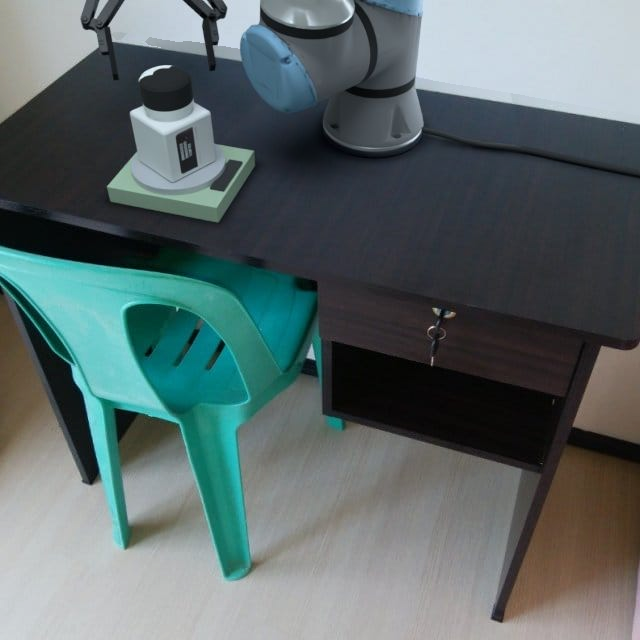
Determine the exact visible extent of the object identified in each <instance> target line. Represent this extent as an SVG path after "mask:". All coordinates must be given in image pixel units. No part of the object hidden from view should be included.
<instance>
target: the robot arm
mask: <svg viewBox="0 0 640 640" xmlns="http://www.w3.org/2000/svg"><path fill="white" fill-rule="evenodd" d="M100 1H101V0H85V2H84V5H83V8H82V11H81V16H80V23H81V27H82V29H83V30H85V31H93V32H94V33H95V34H96V39H97V43H98V50H99V53H100V55H101V56H108V57H109V63H110V68H111V75H112V79H113V80H112V81H119V80H120V77H119V71H118V65H117V60H116V55H115V49H114V43H113V36H112V31H111V26H109V25H111V22H112V21H113V19H114V18H115V17H116V14H117V13H118V11H119V10H120V9H121V7H122V6H123V4H124V2H125V1H126V0H107V2H106V3H105V4H104V7H103V8H102V9H101V11H100V12H99V14H98V16H97V17H96V18H95V16H96V13H97V10H98V7H99V4H100ZM182 2H183V3H185V4H186V5H187V6H188V7H189V8H190V9H191V10H193V12H195V14H197V15H198V16H199V17H200V18H201V19H202V24H201V28H202V35H203V40H204V41H203V42H204V47H205V52H206V53H205V54H206V59H207V64H208V70H209V72H214V71H215V70H216V66H217V61H216V55H215V49H214V47H215V46H218V45H219V41H220V35H219V29H218V21H219V20H223V19H225V18H226V16H227V13H228V6H227V4H226V3H225V1H224V0H206V1H204V0H182ZM206 2H207V3H206ZM423 17H424V11H423V0H259V22H258V24H251V25H250V26H249V27H248V28H247V29H246V30H245V31H244V32H243V33H242V34H241V37H240V41H239V53H240V58H241V62H242V66H243V69H244V72H245V74H246V76H247V78H248V80H249V82H250V83H251V85H252V87H253V89H254V90H255V92H256V93H257V94H258V96H259V97H260V98H261V99H262V100H263V102H265V103H266V104H267V105H268V106H270V107H271V108H272V109H274V110H275V111H276V112H279V113H283V114H296V113H298V112H301V111H303V110H306V109H311V108H314V107H316V105H317V104H320V103H322V102H324V101H326V100H328V102H327V104H326V108H325V109H324V110H325V111H324V114H323V117H322V132H323V136H324V138H325V140H326V141H327V142H328V143H329V144H330V145H331V146H333V147H334V148H336V149H337V150H339V151H340V152H341V151H342V152H345V153H346V154H349V155H353V156H357V157H364V158H386V157H387V158H388V157H392V156H397V155H401V154H403V153H405V152H408V151H409V150H411V149H413V148H414V147H415V146H417V144H418V143H419V142H420V141H421V139H422V137H423V134H427V135H431V136H436V137H439V138H443V139H446V140H450V141H453V142H457V143H459V144H465V145H468V146H474V147H479V148H488V149H496V150H497V149H498V150H506V151H511V152H512V151H513V152H519V153H525V154H530V155H535V156H540V157H545V158H549V159H554V160H557V161H563V162H566V163H572V164H576V165H581V166H586V167H591V168H595V169H601V170H604V171H605V170H606V171H610V172H616V173H621V174H626V175H630V176H637V177H640V169H635V168H629V167H624V166H619V165H614V164H609V163H605V162H599V161H596V160H595V161H594V160H590V159H585V158H579V157H574V156H571V155H565V154H561V153H556V152H552V151H546V150H544V149H543V150H542V149H538V148H533V147H528V146H523V145H517V144H509V143H502V142H501V143H500V142H492V141H491V142H490V141H483V140H482V141H481V140H476V139H470V138H466V137H463V136H459V135H455V134H453V133H449V132H445V131H441V130H437V129H434V128H429V127H425V126H424V117H423V112H422V108H421V106H420V105H421V104H420V101H419V97H418V92H417V89H416V77H417V67H418V57H419V49H420V48H419V47H420V39H421V29H422V21H423V20H422V18H423ZM215 72H216V71H215Z"/></svg>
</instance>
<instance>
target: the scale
mask: <svg viewBox="0 0 640 640" xmlns="http://www.w3.org/2000/svg"><path fill="white" fill-rule="evenodd" d="M214 146H215V155H216V160H215V161H214V162H212V163H210V164H208V165H206V166H204V167H202V168H200V169H198V170H197V171H195V172H193V173H191V174H189V175H187V176H185V177H183V178H181V179H179V180H177V181H175V182H170V181H169V180H167V179H166V178H164V177H163V176H162V175H160V174H159V173H157V172H156V171H154V170H153V169H151V168H150V167H148V166H147V165H145V164H144V163H142V162H141V161H140V160H139V156H138V152H137V151H136V152H135V153H134V154H133V156H131V157H130V159H129V160H128V161H127V162H126V164H125V165H124V166H123V167H122V168H121V169H120V170H119V172H118V173H117V174H116V175H115V177H114V178H113V179H112V180H111V181H110V182H109V184H108V185H106V189H107V193H108V197H109V202H110V203H116V204H121V205H125V206H129V207H130V206H131V207H136V208H141V209H146V210H152V211H156V212H162V213H167V214H171V215H177V216H180V217H181V216H182V217H187V218H192V219H197V220H202V221H207V222H212V223H220V221H221V220H222V218H223V216H224V215H225V213H226V212H227V210H228V208H229V207H230V205H231V204H232V202H233V201H234V199H235V198H236V196H237V195H238V193H239V191H240V190H241V188H242V187H243V185H244V183H245V182H246V181H247V179H248V178H249V177H250V175H251V173H252V171H253V170H254V168H255V167H256V157H255V150H252V149H246V148H241V147H234V146H229V145H224V144H218V143H215V142H214Z"/></svg>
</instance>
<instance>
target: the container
mask: <svg viewBox="0 0 640 640" xmlns="http://www.w3.org/2000/svg"><path fill="white" fill-rule="evenodd" d="M192 83H193V82H192V77H191V74H190V72H189V71H187V70H186V69H185V68H183V67H180V66H178V65H169V64H168V65H167V64H165V65H164V64H163V65H158V66H153V67H151V68H148V69H146V70H144V72H142V73H141V74H140V77H139V78H138V86H139V92H140V97H141V102H142V105H141V106H139V107H137V108H134V109H132V110H130V111H129V117H130V121H131V122H130V123H131V126H132V127H131V128H132V132H133V137H134V142H135V146H136V152H138V156H139V160H140V161H141V162H142V163H144V164H145V165H147V166H148V167H150V168H151V169H153V170H154V171H156V172H157V173H159V174H160V175H162V176H163V177H164V178H166V179H167V180H169V181H170V182H175V181H177V180H179V179H181V178H183V177H185V176H187V175H189V174H191V173H193V172H195V171H197V170H198V169H200V168H202V167H204V166H206V165H208V164H210V163H212V162H214V161H215V160H216V155H215V146H214V143H215V140H214V139H215V138H214V129H213V122H212V114H211V111H210V110H208V109H207V108H205V107H203V106H202V105H201V104H198V103H196V102H195V99H194V92H193V85H192Z"/></svg>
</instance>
